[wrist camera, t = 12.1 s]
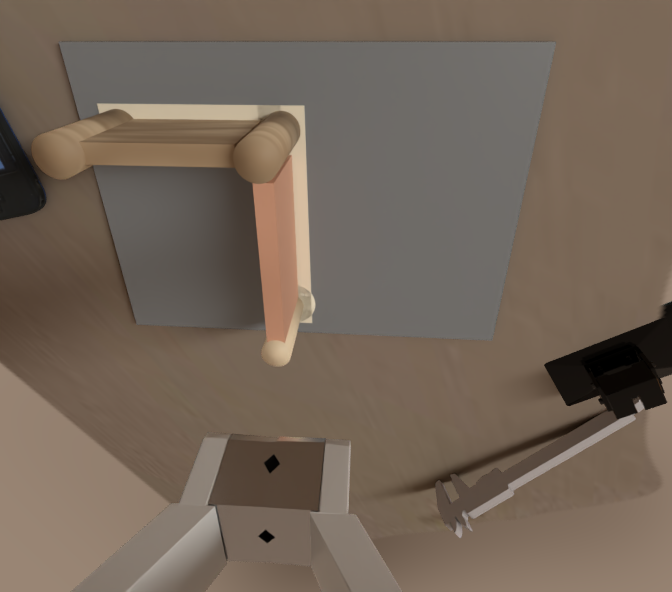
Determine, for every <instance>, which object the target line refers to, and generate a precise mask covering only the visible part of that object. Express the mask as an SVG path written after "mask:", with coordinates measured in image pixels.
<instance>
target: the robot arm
mask: <svg viewBox="0 0 672 592" xmlns="http://www.w3.org/2000/svg"><path fill="white" fill-rule="evenodd" d="M350 451H351V443H350V440H335V439H326V438H301V437H266V436H254V435H242V434H227V433H212V432H208V433H207V434H206V436H205V437H204V438H203V440H202V443H201V446H200V448H199V451H198V453H197V456H196V459H195V461H194V464H193V467H192V469H191V472H190V475H189V477H188V480H187V483H186V485H185V488H184V490H183V493H182V496H181V498H180V501H179V504H178V503H171V504H170V505H169V506H168V507H166V508H165V509H164V510H163V511H162V512H161V513H160V514H158V515H157V516H156V517H155V518H154V519H153V520H152V521H150V522H149V523H148V524H147V525H146V526H145V527H144V528H143V529H142V530H140V531H139V532H138V533H137V534H136V535H135V536H133V537H132V538H131V539H130V540H129V541H128V542H127V543H125V544H124V545H123V546H122V547H121V548H120V549H119V550H117V551H116V552H115V553H114V554H113V555H112V556H111V557H109V558H108V559H107V560H106V561H105V562H104V563H103V564H102V565H100V566H99V567H98V568H97V569H96V570H95V571H94V572H93V573H91V574H90V575H89V576H88V577H87V578H86V579H84V580H83V581H82V582H81V583H80V584H79V585H78V586H77V587H75V588H74V589H73V590H72V591H71V592H205V591H206V590H207V589H208V587H209V586H210V585H211V584H212V582H213V581H214V579H216V577H217V576H218V575H219V573H220V572H221V571H222V570H223V568H224V567H225V566H226V564H227V561H243V562H269V563H270V562H271V563H281V564H291V565H301V566H312V570H313V573H314V575H315V578H316V580H317V583H318V585H319V587H320V590H321V592H402V591H401V589H400V587H399V585H398V584H397V582H396V580H395V579H394V577H393V576H392V574H391V572H390V571H389V569H388V567H387V566H386V564H385V562H384V561H383V559H382V557H381V556H380V554H379V552H378V551H377V549H376V547H375V546H374V544H373V542H372V541H371V539H370V537H369V536H368V534H367V532H366V531H365V529H364V527H363V526H362V524H361V522H360V521H359V519H358V518H357V516H356V515H355V514H348V506H349V478H350Z"/></svg>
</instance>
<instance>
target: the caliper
mask: <svg viewBox="0 0 672 592" xmlns="http://www.w3.org/2000/svg"><path fill="white" fill-rule="evenodd" d="M633 403H634V405H635V407H636V409H637V411H638V412H639V411H641V410H642V409H643V405H642V403H641V401H640V398H637V399H635V400H633ZM633 415H634V414H633ZM633 415H630V416H627V417H624V418H621V419H617V418H616V417H615V415H614V413H613V411H610V412H608V410H607V411H605V412H603V413H601V414H600V415H598V416H596V417H595V418H593V419H591V420H590V421H588V422H586V423H585V424H583V425H581V426H580V427H578V428H576V429H575V430H573V431H571V432H570V433H568V434H566V435H565V436H563V437H561V438H560V439H558V440H556V441H555V442H553V443H551V444H550V445H548V446H546V447H545V448H543V449H541V450H539V451H538V452H536V453H534V454H533V455H531V456H529V457H528V458H526V459H524V460H522V461H521V462H519V463H517V464H516V465H514V466H512V467H511V468H509V469H507V470H505V471H504V472H501V471H500V470H499V469H498V468H495V469H493V470H492V471H491V472H490V473H489V474H486V475H484V476H482V477H481V478H480V479H479V480H478V481H477V482H476V485H474V486H473V487H471V488H469V487H468V486H467V485H466V484H465V483H464V482H463V481H462V480H461V479H460V478H459V477H458V476H457V475H456V474H455V473H454V474H451V475H450V476H451V478H452V483H453V485H454V487H455V489H456V491H457V493H458V494H459V497H460V498H459V499H457V500H455V501H454V502H451V500H450V497H449V495H448V493H447V491H446V488H445V486H444V484H443V483H442V482H441V481H440V480H438V481H437V482H436V484H435V487H436V497H437V505H438V510H439V512H440V514H441V517H442V519H443V521H444V523H445V525H446V526H447V527H448V528H449V529H450V530H454V532H455V534H456V535H457V536H458V537H460V538H461V537H462V525H463V526H464V527H465V528H466V529H468V530H469V531H472V528H471V526H470V524H469V523H468V521H467V520H468V516H470V517H471V518H472V519H474V518H476V517H478V516H479V515H481V514H483V513H484V512H486V511H488V510H489V509H491V508H493V507H494V506H496V505H498V504H499V503H501V502H503V501H504V500H506V499H508V498H509V497H511V496H513V495H514V492H513V490H515V489H517V488H518V487H520V486H522V485H524V484H525V483H527V482H529V481H530V480H532V479H534V478H536V477H537V476H539V475H541V474H543V473H544V472H546V471H548V470H549V469H551V468H553V467H555V466H556V465H558V464H560V463H562V462H563V461H565V460H567V459H569V458H570V457H572V456H574V455H575V454H577V453H579V452H581V451H582V450H584V449H586V448H588V447H589V446H591V445H593V444H594V443H596V442H598V441H600V440H601V439H603V438H605V437H606V436H608V435H610V434H612V433H613V432H615V431H617V430H618V429H620V428H622V427H624V426H625V425H627V424H629V423H630V422H632V421H634V420H636V419H635V417H634V416H633ZM461 524H462V525H461Z"/></svg>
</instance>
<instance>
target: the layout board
mask: <svg viewBox="0 0 672 592" xmlns="http://www.w3.org/2000/svg"><path fill="white" fill-rule="evenodd" d="M59 45H60V49H61V52H62V56H63V60H64V63H65V67H66V70H67V74H68V78H69V81H70V85H71V88H72V92H73V96H74V99H75V103H76V107H77V110H78V114H79V117H80V120H83V119H86V118H89V117H92V116H94V115H97V114H100V113H103V112H106V111H109V110H111V109H121V110H123V111H125V112H127V113H128V114H130V115H131V116H132V117H133V119H192V120H261V122H262V121H263V120H264V119H265V118H267V117H268V116H269V115H270V114H271V113H273V112H275V111H286V112H289V113H290V114H292V115H293V116H294V117H295V118H296V119H297V121H298V123H299V125H300V138H299V140H298V142H297V143H296V145H295V146H294V148H293V149H292V151H291V153H290V154H289V155H292V170H293V192H294V214H295V235H296V257H297V279H298V298H300V299H301V301H302V302H303V306H304V308H303V312H302V316H301V320H300V323H299V327H298V331H297V332H314V333H336V334H358V335H380V336H403V337H425V338H447V339H469V340H492V339H493V335H494V330H495V325H496V321H497V316H498V311H499V307H500V302H501V297H502V293H503V288H504V283H505V279H506V274H507V269H508V265H509V260H510V255H511V251H512V246H513V241H514V237H515V232H516V227H517V223H518V218H519V213H520V209H521V204H522V199H523V195H524V190H525V185H526V181H527V176H528V171H529V167H530V162H531V157H532V152H533V148H534V143H535V138H536V134H537V129H538V124H539V120H540V115H541V110H542V106H543V101H544V96H545V92H546V87H547V82H548V78H549V73H550V68H551V64H552V59H553V54H554V50H555V45H556V42H59ZM93 168H94V172H95V175H96V179H97V183H98V186H99V190H100V193H101V197H102V201H103V204H104V208H105V212H106V215H107V219H108V222H109V226H110V230H111V233H112V237H113V241H114V244H115V248H116V251H117V255H118V259H119V262H120V266H121V269H122V273H123V277H124V280H125V284H126V288H127V291H128V295H129V298H130V302H131V306H132V309H133V313H134V317H135V320H136V324H137V325H158V326H180V327H202V328H225V329H247V330H266V324H265V313H264V303H263V292H262V281H261V270H260V260H259V249H258V238H257V227H256V216H255V206H254V195H253V184H252V183H251V182H248V181H246V180H245V179H244V178H242V177H241V176H240V175H239V173H238V172H237V170H236V168H225V167H175V166H124V165H93Z"/></svg>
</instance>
